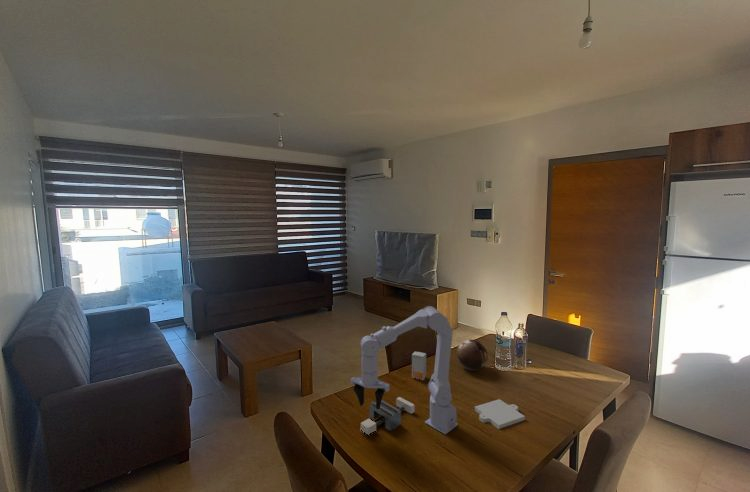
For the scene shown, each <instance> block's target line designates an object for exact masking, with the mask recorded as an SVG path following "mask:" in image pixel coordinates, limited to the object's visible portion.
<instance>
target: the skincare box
mask: <svg viewBox="0 0 750 492" xmlns="http://www.w3.org/2000/svg"><path fill="white" fill-rule="evenodd" d="M425 377H427V353H426V352H421V351H414V352H413V353H412V354H411V378H412V379H415V378H416V380H419V379H420V380H419V381H424V380H425V379H426V378H425Z"/></svg>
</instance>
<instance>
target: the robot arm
mask: <svg viewBox="0 0 750 492" xmlns="http://www.w3.org/2000/svg"><path fill="white" fill-rule="evenodd" d="M418 327H420V328H423V329H428V327H429V328H430V330H432V331H435V332H436V333H437V339H436V348H435V349H436V351H435V360H434V369H433V373H432V374H431V376H430V377H431V378H430V380H429V382H428V384H427V390H428V391H429V393H430V396H429V418H428V419H427V420H425V421H424V423H425V424H426V425H428V426H430V427H431V428H433V429H435V430H437V431H439V432H440V433H442V434H444V435H447V434H448V433H449V432H451V431H452V430H454V429H455V428H456V427H457V426H458V425H459V424H458V423H457V408H456V406H455V405H453V404H452V403H451V401H452V398H453V396H452V393H451V384H450V383H451V382H450V379H449V372H450V364H451V362H450V361H451V352H452V344H453V343H452V342H453V328H452V327H451V325H450V323H449V320H448V318H447V317H446V316H445V315H444V314H442V313H441V312H440V311H439V310H438V309H436V308H435V307H434V306H431V305H427V306H425V307H424V308H421V309H419V310H417V312H415V313H414V314H412V315H411V316H409V317H408V318H406V319H404V320H402V321H401V322H399V323H397V324H396V325H395V326H391V325H390V326H389V325H387V326H385V325H383V326H382V327H381V329H380V330H378V331H376V332H374V333H370V335H365V336H363V337H362V339H361V340H360V342H359V345H360V348H361V358H360V359H361V367H360V368H361V377H355V376H354V377H353V376H352V378H350V385H352V386H353V385H354V387H353V392H354V393H355V395H356V397H357V399H358V402H359V403H358V404H359V406H360V407H363V405H364V404H365V388H366V389H376V391H375V392H374V395H375V402H376V409H379V408H380V404H381V400H382V399H383V397H384V394H385V392H386V393H388V392H389V391H390V389H391V388H390V383H386V382H384V381H382V380H379V379H378V376H379V375H378V356H377V355H378V353H379V350H380V349H382V348H384V347H386V346H389V345H391V344H392V343H393V342H396V340H397V338H398V336H401V335H402V334H404V333H406V332H409V331H411V330H413V329H415V328H418Z"/></svg>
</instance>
